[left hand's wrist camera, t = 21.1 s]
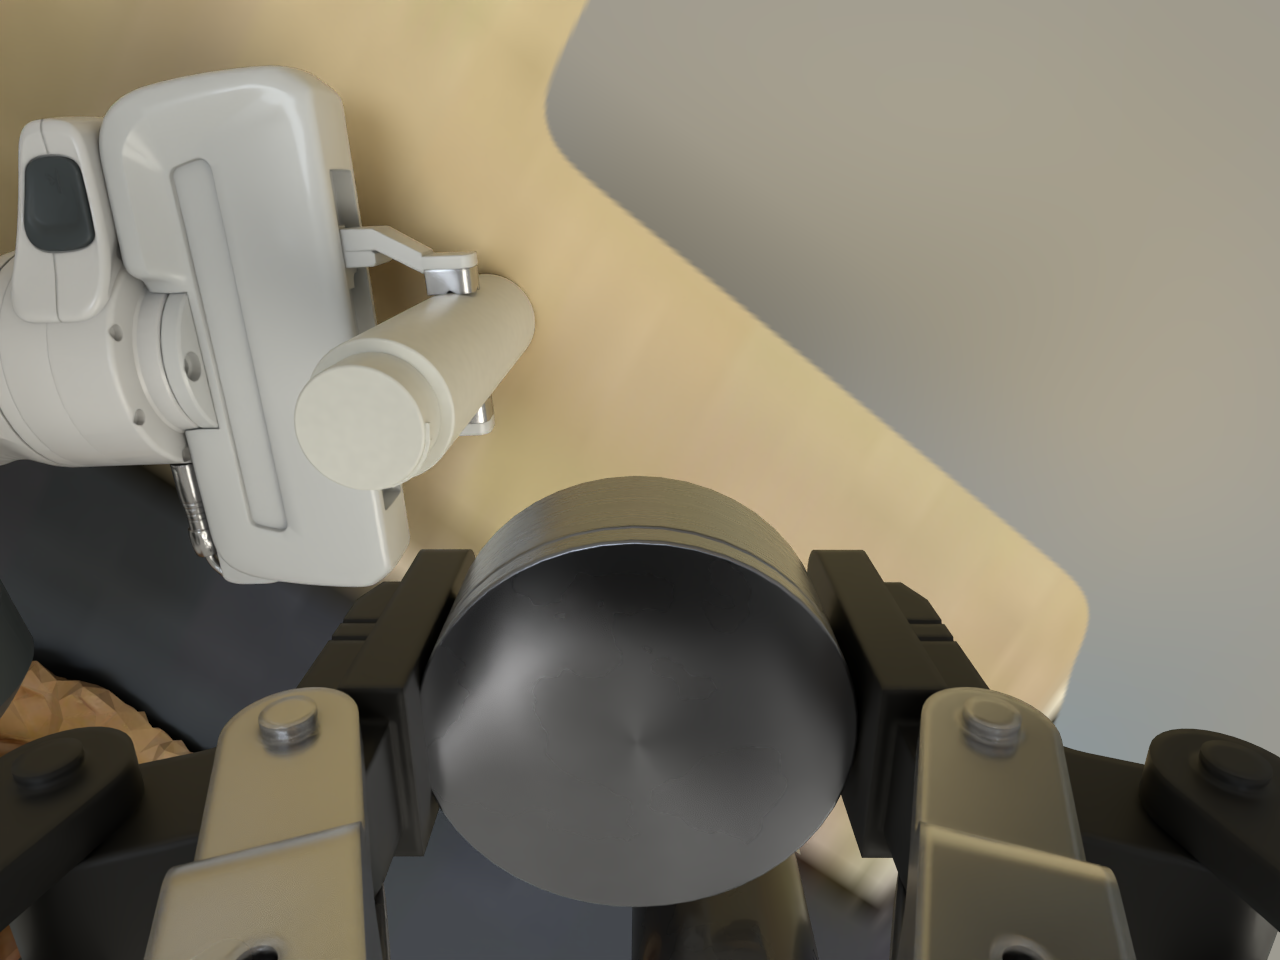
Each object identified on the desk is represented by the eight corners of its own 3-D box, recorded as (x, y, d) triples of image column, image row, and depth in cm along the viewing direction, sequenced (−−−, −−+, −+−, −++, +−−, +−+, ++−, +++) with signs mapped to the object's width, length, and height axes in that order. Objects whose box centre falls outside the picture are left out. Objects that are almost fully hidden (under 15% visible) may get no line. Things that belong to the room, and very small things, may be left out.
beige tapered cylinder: (446, 362, 38) (286, 499, 22) (443, 271, 37) (269, 345, 20) (535, 367, 38) (441, 509, 22) (535, 276, 37) (436, 355, 20)
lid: (887, 554, 10) (941, 635, 8) (730, 833, 12) (746, 953, 10) (522, 416, 10) (494, 470, 8) (409, 731, 11) (363, 839, 9)
